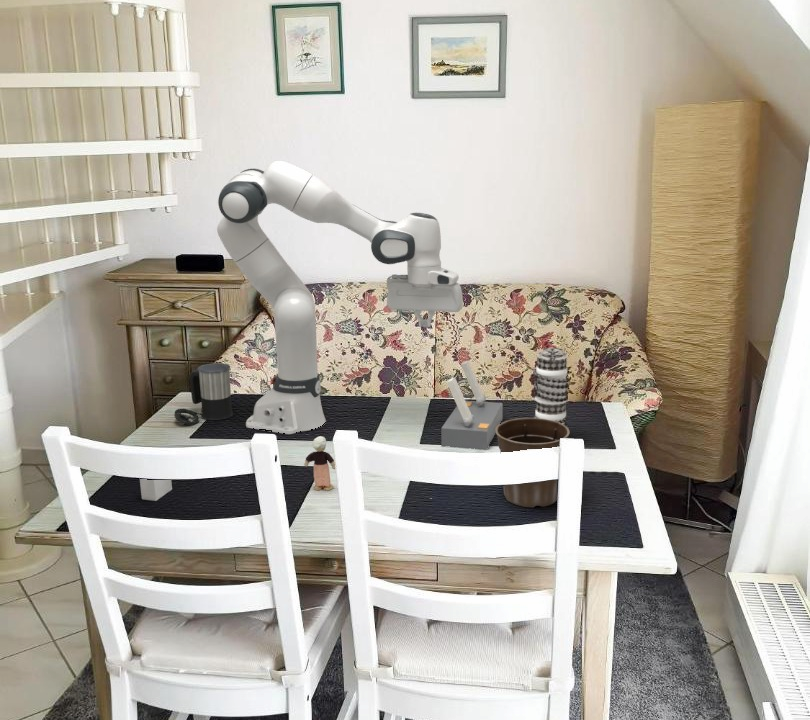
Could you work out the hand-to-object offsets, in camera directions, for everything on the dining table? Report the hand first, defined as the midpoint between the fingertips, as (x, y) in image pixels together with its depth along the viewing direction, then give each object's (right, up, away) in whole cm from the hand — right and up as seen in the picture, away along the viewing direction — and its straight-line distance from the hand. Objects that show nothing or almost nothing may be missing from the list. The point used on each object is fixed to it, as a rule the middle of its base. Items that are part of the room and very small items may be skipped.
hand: (424, 326), depth 234 cm
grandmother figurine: (-25, -39, -29) cm, 55 cm away
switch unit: (+13, -29, +5) cm, 32 cm away
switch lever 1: (+12, -26, -5) cm, 29 cm away
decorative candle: (+33, -31, -3) cm, 45 cm away
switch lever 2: (+16, -21, +11) cm, 29 cm away
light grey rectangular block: (-63, -40, -31) cm, 81 cm away
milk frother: (-63, -26, +20) cm, 71 cm away
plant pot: (+23, -40, -37) cm, 59 cm away
